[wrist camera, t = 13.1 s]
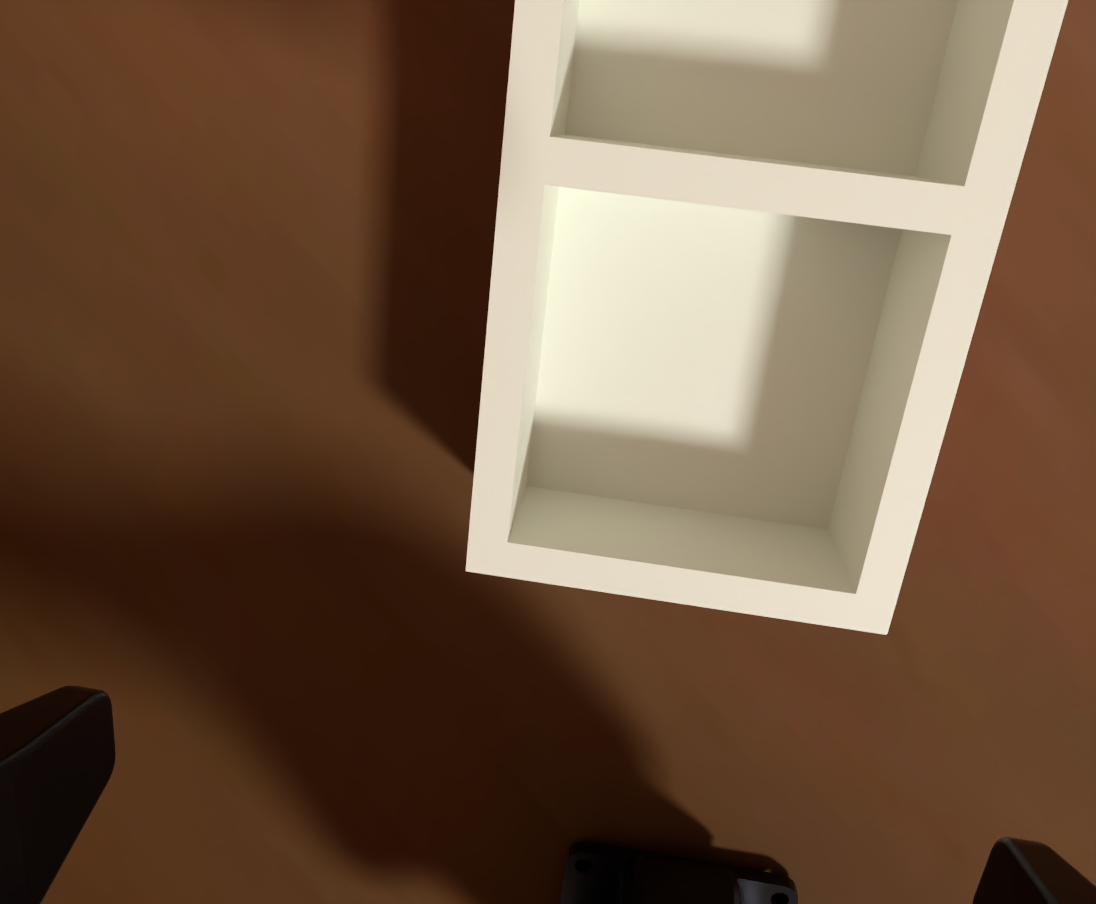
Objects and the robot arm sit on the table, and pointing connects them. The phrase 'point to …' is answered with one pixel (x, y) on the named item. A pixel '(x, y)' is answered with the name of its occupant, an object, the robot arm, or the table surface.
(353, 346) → the table surface
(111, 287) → the table surface
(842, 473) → the compartment tray
